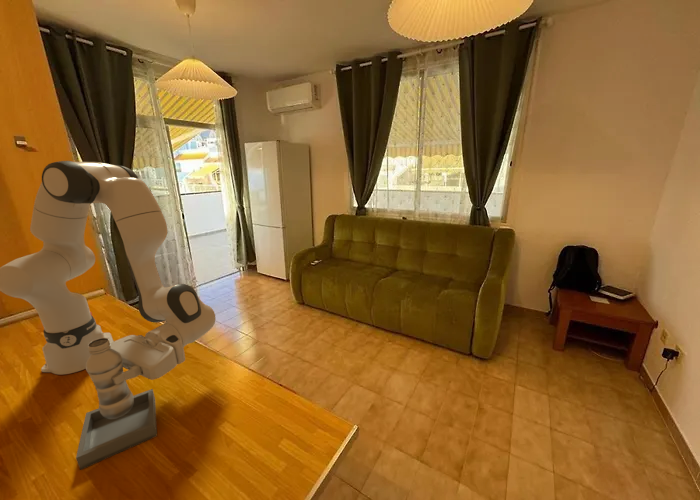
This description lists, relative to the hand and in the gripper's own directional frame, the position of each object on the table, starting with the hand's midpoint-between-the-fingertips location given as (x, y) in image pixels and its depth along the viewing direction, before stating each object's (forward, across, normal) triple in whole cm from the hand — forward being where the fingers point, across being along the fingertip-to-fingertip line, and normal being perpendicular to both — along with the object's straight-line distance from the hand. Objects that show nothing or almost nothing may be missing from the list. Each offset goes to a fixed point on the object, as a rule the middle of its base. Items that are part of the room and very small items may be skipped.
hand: (103, 376), depth 66 cm
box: (0, 0, +17) cm, 17 cm away
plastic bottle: (-1, 0, +12) cm, 12 cm away
